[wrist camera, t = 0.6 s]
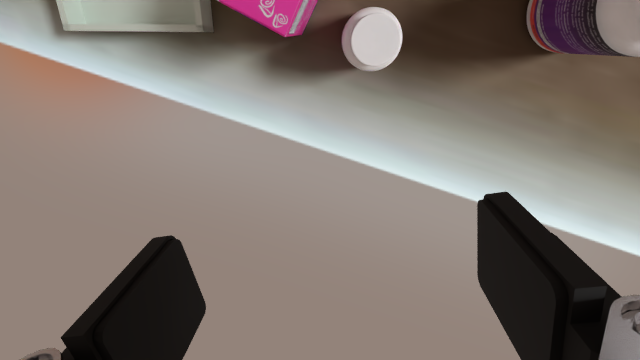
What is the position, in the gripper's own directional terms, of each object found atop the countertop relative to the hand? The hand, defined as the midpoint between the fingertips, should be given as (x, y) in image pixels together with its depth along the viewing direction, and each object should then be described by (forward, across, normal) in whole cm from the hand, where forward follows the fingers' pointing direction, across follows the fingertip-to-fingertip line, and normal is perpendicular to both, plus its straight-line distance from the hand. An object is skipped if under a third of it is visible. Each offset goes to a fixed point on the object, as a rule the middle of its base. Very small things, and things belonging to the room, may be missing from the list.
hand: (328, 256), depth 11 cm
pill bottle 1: (+29, -4, -5) cm, 30 cm away
